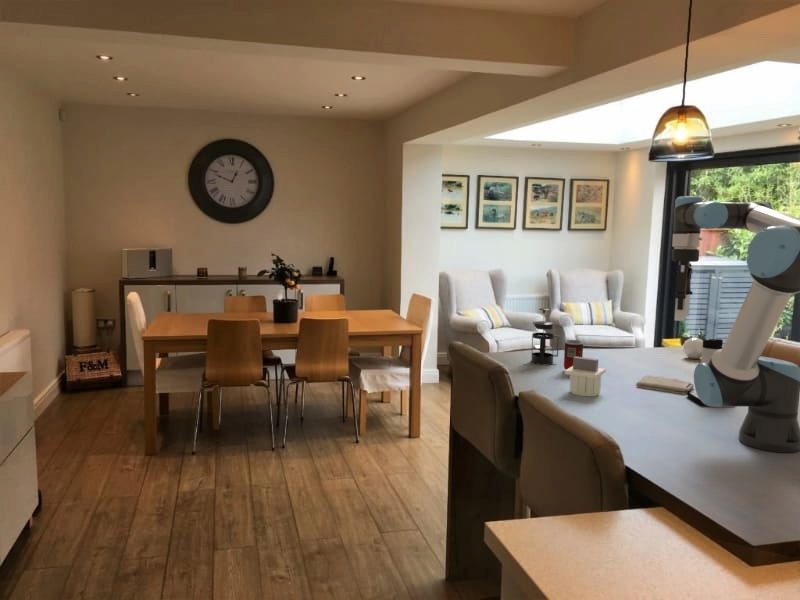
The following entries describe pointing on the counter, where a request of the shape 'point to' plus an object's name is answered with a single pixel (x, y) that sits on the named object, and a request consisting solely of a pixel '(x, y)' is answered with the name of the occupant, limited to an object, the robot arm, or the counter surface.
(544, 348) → the french press
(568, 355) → the soda can
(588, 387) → the cream round tub
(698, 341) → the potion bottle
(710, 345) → the travel mug
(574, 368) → the cover
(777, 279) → the robot arm
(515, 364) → the counter surface
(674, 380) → the washcloth
